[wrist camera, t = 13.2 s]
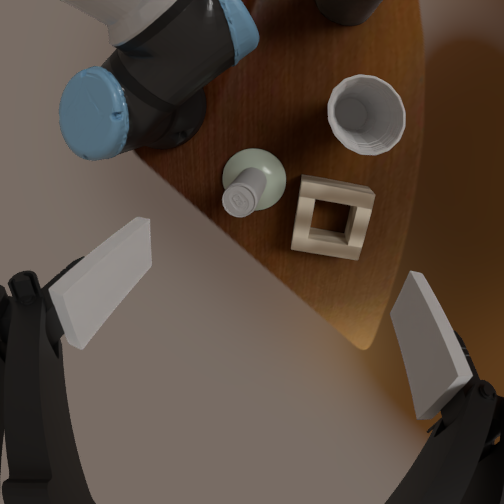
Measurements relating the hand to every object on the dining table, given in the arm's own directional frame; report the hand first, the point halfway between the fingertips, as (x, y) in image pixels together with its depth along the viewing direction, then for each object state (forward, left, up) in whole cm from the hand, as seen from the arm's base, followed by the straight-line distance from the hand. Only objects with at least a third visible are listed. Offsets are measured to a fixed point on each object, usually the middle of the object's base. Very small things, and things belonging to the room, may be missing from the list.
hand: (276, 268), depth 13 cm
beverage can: (+5, -6, -36) cm, 37 cm away
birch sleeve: (+9, +8, -37) cm, 39 cm away
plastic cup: (-9, +9, -37) cm, 39 cm away
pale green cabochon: (+5, -6, -37) cm, 37 cm away
